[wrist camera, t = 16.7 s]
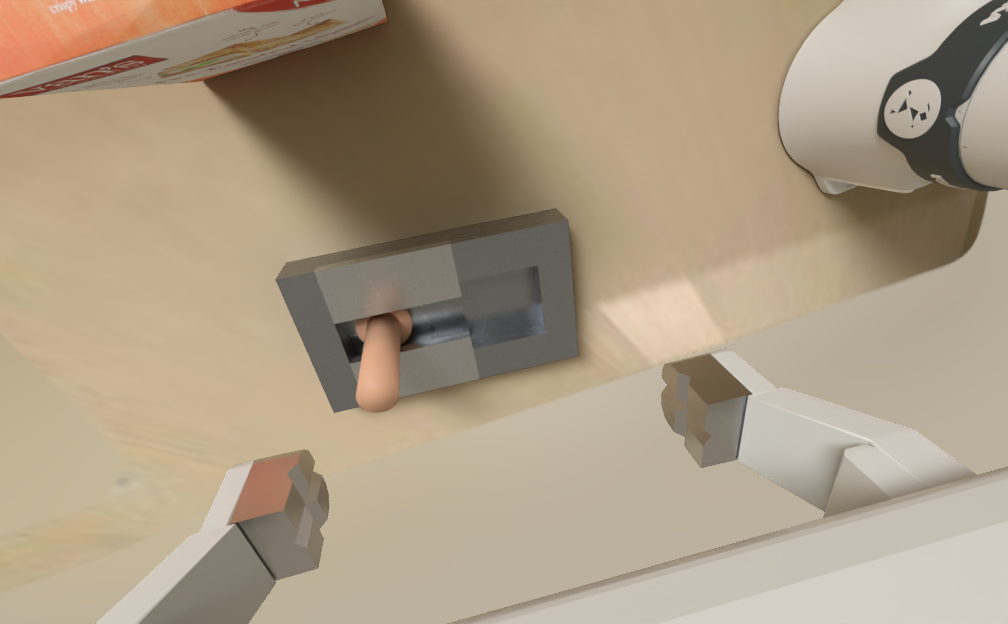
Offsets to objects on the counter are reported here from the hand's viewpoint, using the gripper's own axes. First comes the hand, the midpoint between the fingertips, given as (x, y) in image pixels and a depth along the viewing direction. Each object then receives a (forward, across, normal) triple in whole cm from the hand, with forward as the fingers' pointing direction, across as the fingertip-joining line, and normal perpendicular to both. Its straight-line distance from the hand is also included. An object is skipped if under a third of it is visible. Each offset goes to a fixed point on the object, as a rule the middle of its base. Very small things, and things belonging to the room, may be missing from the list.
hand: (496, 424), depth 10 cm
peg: (+30, +7, +12) cm, 34 cm away
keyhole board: (+31, +2, +12) cm, 34 cm away
